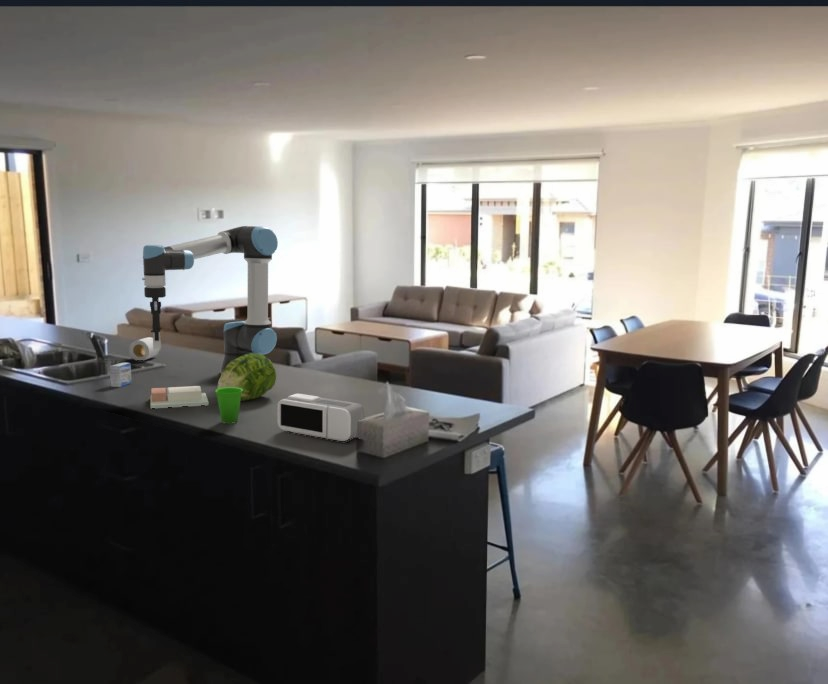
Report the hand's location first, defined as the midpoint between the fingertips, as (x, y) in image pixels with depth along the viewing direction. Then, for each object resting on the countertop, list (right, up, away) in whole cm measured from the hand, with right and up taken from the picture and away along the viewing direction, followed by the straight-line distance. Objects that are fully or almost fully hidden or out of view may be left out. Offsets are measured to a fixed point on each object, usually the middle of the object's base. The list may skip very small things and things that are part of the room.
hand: (156, 347), depth 278 cm
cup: (+35, -25, -30) cm, 53 cm away
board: (+10, -20, -6) cm, 23 cm away
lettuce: (+33, -20, +1) cm, 39 cm away
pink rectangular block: (+3, -19, -6) cm, 20 cm away
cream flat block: (+11, -19, -3) cm, 22 cm away
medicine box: (-21, -16, +20) cm, 33 cm away
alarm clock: (+68, -28, -43) cm, 85 cm away
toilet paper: (-32, -6, +75) cm, 81 cm away
